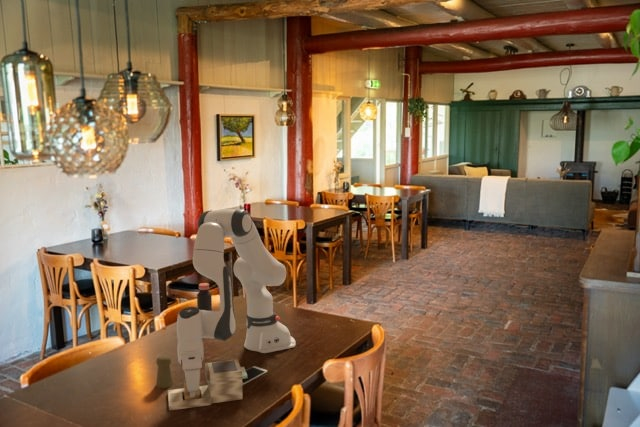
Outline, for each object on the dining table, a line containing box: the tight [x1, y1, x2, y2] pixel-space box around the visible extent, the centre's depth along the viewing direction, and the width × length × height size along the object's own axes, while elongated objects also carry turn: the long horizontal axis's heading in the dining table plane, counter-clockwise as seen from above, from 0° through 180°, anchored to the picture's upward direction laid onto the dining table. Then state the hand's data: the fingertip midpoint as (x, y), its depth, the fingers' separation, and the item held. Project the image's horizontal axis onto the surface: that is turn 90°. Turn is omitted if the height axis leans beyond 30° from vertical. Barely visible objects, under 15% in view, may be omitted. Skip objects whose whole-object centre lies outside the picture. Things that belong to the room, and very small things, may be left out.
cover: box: [204, 362, 247, 384], centre depth 195 cm, size 14×7×4 cm, turn 107°
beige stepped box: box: [167, 359, 243, 411], centre depth 193 cm, size 25×12×11 cm, turn 107°
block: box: [183, 380, 201, 400], centre depth 193 cm, size 5×5×6 cm
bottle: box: [196, 282, 213, 311], centre depth 265 cm, size 7×7×20 cm
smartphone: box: [242, 365, 268, 386], centre depth 212 cm, size 8×1×15 cm
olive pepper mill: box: [155, 354, 174, 389], centre depth 203 cm, size 6×6×11 cm
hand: (191, 391), depth 193 cm, fingers closed on block, 5 cm apart
